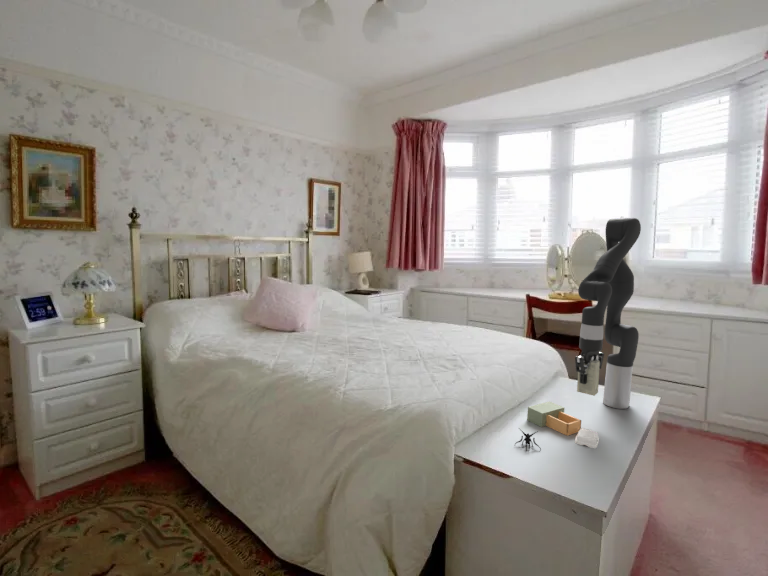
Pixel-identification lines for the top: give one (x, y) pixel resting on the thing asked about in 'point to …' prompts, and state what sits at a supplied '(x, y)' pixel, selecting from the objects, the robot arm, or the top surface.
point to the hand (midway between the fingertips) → (587, 381)
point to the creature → (528, 440)
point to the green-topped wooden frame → (553, 418)
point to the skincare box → (590, 379)
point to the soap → (587, 438)
